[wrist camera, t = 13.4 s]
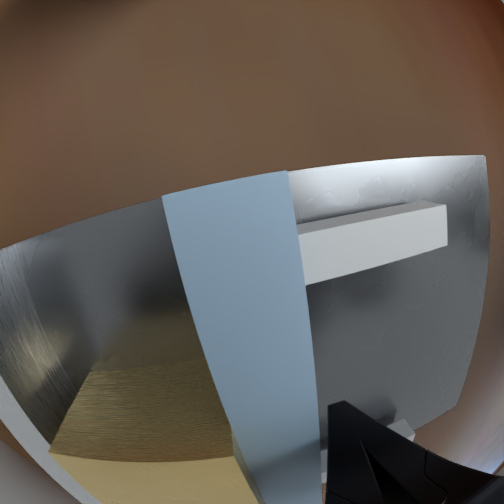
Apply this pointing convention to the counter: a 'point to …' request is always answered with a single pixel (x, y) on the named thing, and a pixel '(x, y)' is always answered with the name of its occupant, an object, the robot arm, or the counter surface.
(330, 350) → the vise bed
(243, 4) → the counter surface
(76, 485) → the bar
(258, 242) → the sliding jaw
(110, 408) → the block
